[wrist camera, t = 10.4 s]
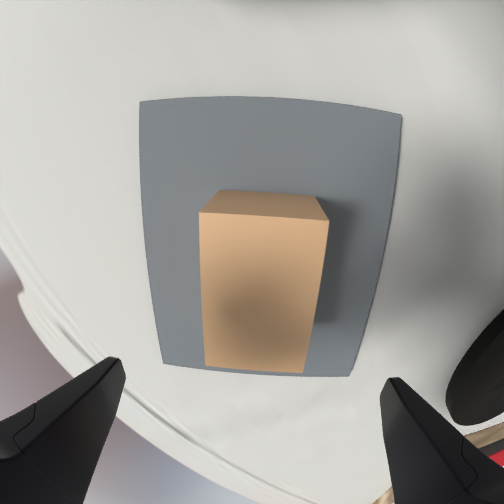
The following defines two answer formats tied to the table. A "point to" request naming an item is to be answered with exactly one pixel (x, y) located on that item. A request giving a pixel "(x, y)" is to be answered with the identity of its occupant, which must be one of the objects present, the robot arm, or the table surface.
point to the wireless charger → (479, 378)
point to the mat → (273, 181)
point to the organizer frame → (475, 438)
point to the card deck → (260, 278)
